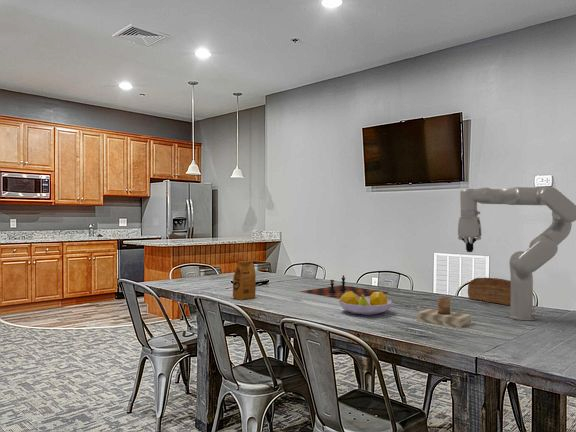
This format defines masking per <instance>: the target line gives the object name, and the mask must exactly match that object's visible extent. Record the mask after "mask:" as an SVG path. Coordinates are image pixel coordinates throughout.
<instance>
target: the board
mask: <svg viewBox="0 0 576 432" xmlns="http://www.w3.org/2000/svg"><path fill="white" fill-rule="evenodd" d="M416 312H417V315H416V316H417V317H416V318H417V319H416V321H417V322H421V321H422V322H421V323H427V322H428V323H429V324H433V323H435V324H434V325H439V324H440V325H441V326H444V325H447V326H446V327H450V326H453V327H452V328H456V327H458V329H460V327H461V328H463V326H464V327H466V326H468V324H469V325H471V324H472V314H468V313H461V312H455V311H450V314H448V315H443V314H438V309H434V308H426V309H424V310H420V311H416ZM470 323H471V324H470ZM440 325H439V326H440ZM465 325H466V326H465Z"/></svg>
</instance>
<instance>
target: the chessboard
mask: <svg viewBox="0 0 576 432" xmlns="http://www.w3.org/2000/svg"><path fill="white" fill-rule="evenodd" d="M345 280H346V277H345V275H342V277H341V285H340V284H339V285H335V283H334V282H335V279H329V281H330V286H327V287H320V288H314V289H313V288H312V289H305V290H300V291H299V292H300V293H304V294H311V295H314V296H321V297H327V298H332V299H338V300H339V299H340V298H341V296H342V295H343V294H344V293H346V292H349V291H352V292H353V293H355V294H356V295H358V297H362V295H364V297H370V295H371V294H372V293H373V292H381V291H382V292H383V293H384V295H386V294H389V291H383V290H376V289H370V288H364V287H358V286H357V287H356V286H352V285H351V286H349V285H345V284H346V281H345Z"/></svg>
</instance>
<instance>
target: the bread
mask: <svg viewBox="0 0 576 432" xmlns="http://www.w3.org/2000/svg"><path fill="white" fill-rule="evenodd" d="M467 296H468V298H469V299H470V300H474V301H481V302H487V303H496V304H502V305H504V306H505V305H506V306H511V280H508V279H504V278H498V277H477V278H473V279H472V280H471V281H469V283H468V285H467ZM477 299H478V300H477ZM482 300H483V301H482Z"/></svg>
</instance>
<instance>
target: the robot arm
mask: <svg viewBox="0 0 576 432" xmlns="http://www.w3.org/2000/svg"><path fill="white" fill-rule="evenodd" d="M459 195H460V197H459V198H460V200H459V201H460V205H459V207H460V216H459V218H458V223H457V235H458V237H457V239H458V241H463V242H464V244H465V250H466V252H467V253H473V252H474V243H476V241H480V240H482V225H481V219H480V216H478V215H481V211H478V204H482V205H507V206H508V205H509V206H546V207H548V209H549V210H551V216H552V222H551V224H550V225H549V226H548V227H547V228H546V229H545V230H544V231H543V232H542V233H540V234H539V235H538V236H536V237H535V238H533V239H532V240H531V241H530V242H529V246H528V248H527V249H526V250H525V251H524V250H523V251H521V250H519V251H515V252H514V253H513V254H511V255H510V258H509V273H510V281H511V305H510V313H507V314H506V317H507V318H508V319H512V320H516V321H536V320H537V317H539V318H543V316H544V315H543V314H544V313H543V312H540V311H539V312H538V311H536V309H535V308H534V306H533V305H534V303H533V302H534V299H533V297H534V295H533V294H534V277H533V276H534V275H533V273H534V272H536V271H537V270H538V269H540V268H541V267H542V266H544V265H545V264H546V263H548V262H549V261H550V260H552V259H553V258H554V256H556V254H557V253H558V250H559V249H558V248H559V247H558V246H559V245H561V243H563V241H564V240H566V239H567V238H568V237H569V235H570V233H571V232H572V231H571V230H572V226H573V224H572V223H574V222H576V203H574V202H573V201H572V200H570V199H569V198H568V197H567V196H566V195H564V194H563V193H562V192H561V191H559V189H557V188H556V187H554V186H544V187H539V186H538V187H531V186H530V187H528V186H527V187H526V186H525V187H524V186H523V187H522V186H521V187H520V186H519V187H518V186H516V187H508V188H490V187H481V188H463V189H461V190H460V193H459Z"/></svg>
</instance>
